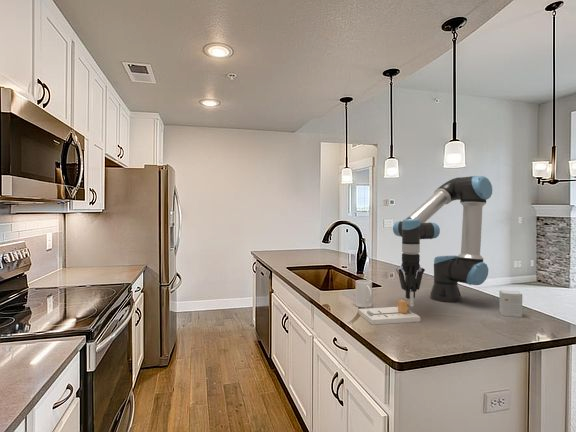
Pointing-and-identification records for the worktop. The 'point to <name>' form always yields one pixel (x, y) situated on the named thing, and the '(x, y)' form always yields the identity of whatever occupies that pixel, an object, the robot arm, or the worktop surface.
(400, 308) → the fader
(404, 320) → the console
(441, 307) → the worktop surface
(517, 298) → the small box
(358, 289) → the mug
